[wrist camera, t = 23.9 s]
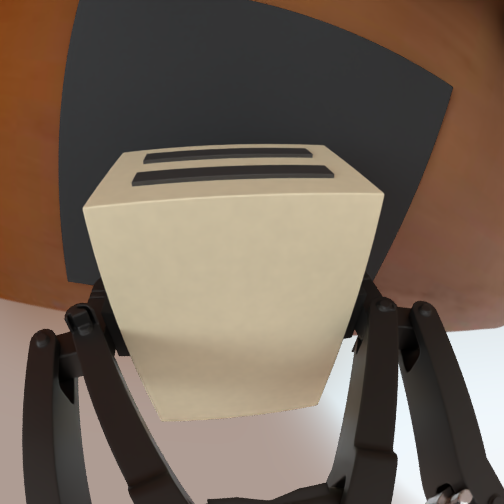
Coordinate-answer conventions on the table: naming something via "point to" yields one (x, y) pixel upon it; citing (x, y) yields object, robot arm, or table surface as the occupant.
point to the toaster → (232, 271)
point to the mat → (236, 100)
